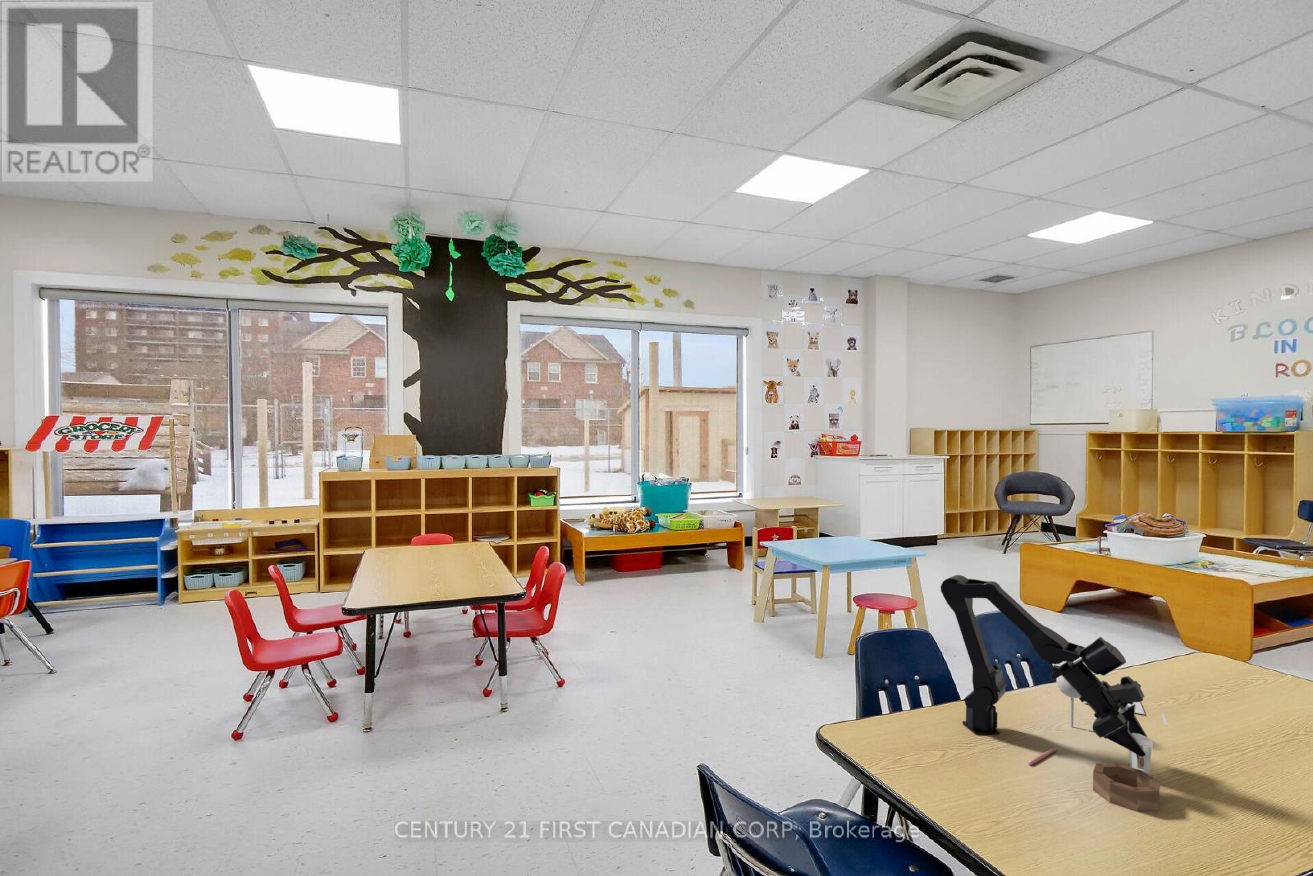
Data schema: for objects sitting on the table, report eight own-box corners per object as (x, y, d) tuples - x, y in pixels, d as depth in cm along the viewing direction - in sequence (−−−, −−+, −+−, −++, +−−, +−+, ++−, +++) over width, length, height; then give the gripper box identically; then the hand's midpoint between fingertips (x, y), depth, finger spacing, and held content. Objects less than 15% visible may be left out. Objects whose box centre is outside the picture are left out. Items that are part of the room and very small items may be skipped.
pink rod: (1030, 766, 146) (1031, 762, 146) (1027, 764, 146) (1027, 761, 146) (1056, 751, 153) (1056, 747, 153) (1053, 749, 154) (1053, 746, 154)
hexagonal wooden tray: (1122, 812, 128) (1122, 792, 128) (1081, 782, 139) (1082, 763, 139) (1173, 810, 129) (1173, 790, 129) (1128, 780, 140) (1128, 762, 140)
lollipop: (1078, 721, 169) (1079, 665, 169) (1094, 734, 162) (1095, 675, 162) (1050, 719, 170) (1051, 664, 170) (1064, 732, 163) (1065, 674, 163)
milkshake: (1118, 771, 144) (1119, 727, 144) (1140, 770, 144) (1141, 727, 144) (1135, 782, 139) (1135, 737, 139) (1157, 781, 140) (1158, 736, 140)
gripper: (1111, 678, 138) (1176, 747, 130) (1123, 657, 151) (1182, 718, 144) (1068, 704, 143) (1128, 771, 136) (1083, 681, 157) (1138, 741, 149)
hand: (1146, 749), depth 141 cm, fingers open, 8 cm apart
